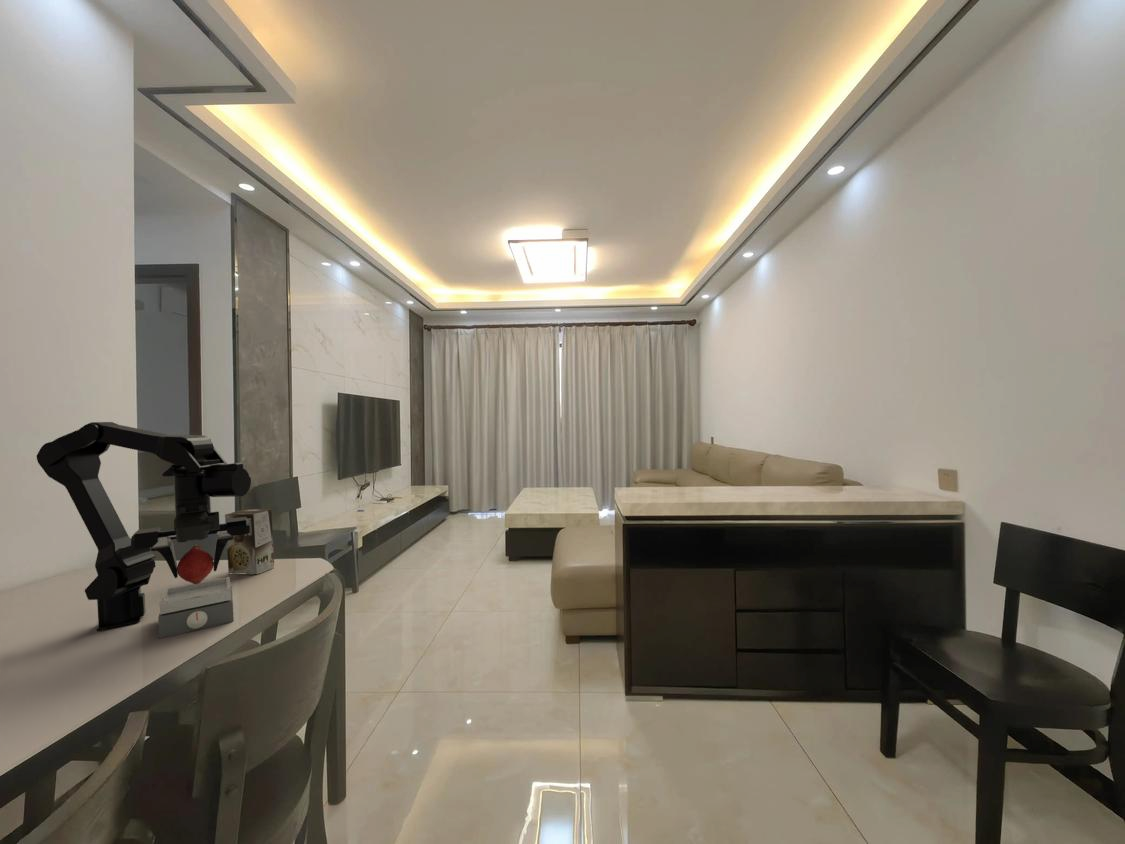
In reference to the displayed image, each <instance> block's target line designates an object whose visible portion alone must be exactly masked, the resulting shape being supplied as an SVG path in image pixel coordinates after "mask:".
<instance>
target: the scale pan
mask: <svg viewBox="0 0 1125 844" xmlns="http://www.w3.org/2000/svg"><path fill="white" fill-rule="evenodd" d="M230 586H231V577H230V576H227V577H223V578H222V577H221V578H217V579H216V578H215V579H210V580H205V581H201V582H200V583H199V584H193V583H190V584H184V585H179V586H178V585H177V586H174V587H168V588H164V591H163V594H162V597H161V600H160V603H159V613H160V615H161V614H165V613H170V612H175V611H180V610H185V609H189V608H194V607H199V606H204V605H209V604H213V603H218V602H223V601H228V600H231V588H230Z"/></svg>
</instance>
